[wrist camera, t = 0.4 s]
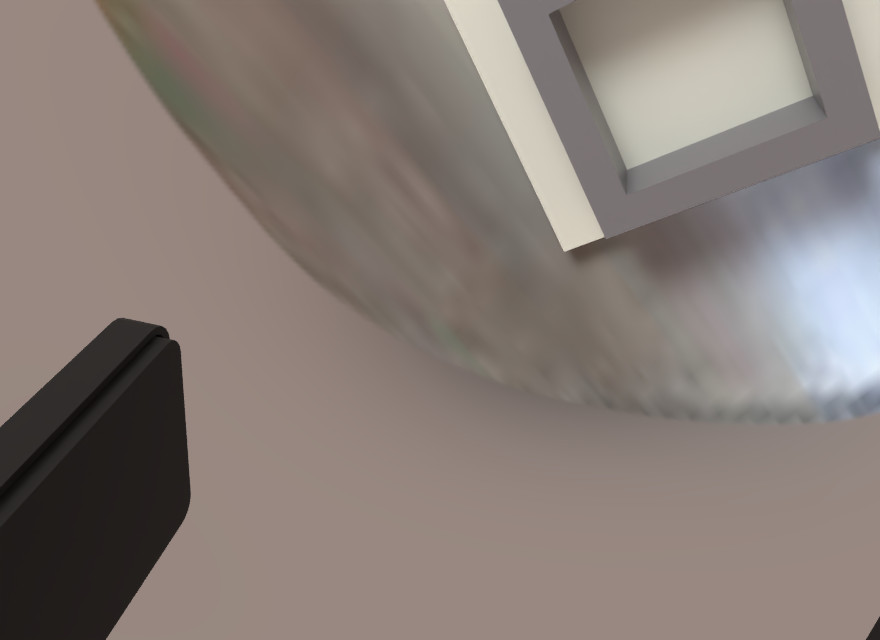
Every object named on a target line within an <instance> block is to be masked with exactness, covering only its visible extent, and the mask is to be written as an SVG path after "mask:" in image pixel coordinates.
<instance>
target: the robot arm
mask: <svg viewBox="0 0 880 640" xmlns="http://www.w3.org/2000/svg"><path fill="white" fill-rule="evenodd" d="M190 493H191V492H190V477H189V464H188V449H187V435H186V422H185V408H184V393H183V378H182V364H181V351H180V346H179V344H178V343H177V342H176V341H175V340H170V339H169V334H168V332H167V330H166V329H165V328H164V327H162V326H158V325H154V324H149V323H144V322H140V321H135V320H130V319H125V318H118V319H116V320H115V321H113V322H112V323H111V324H110V325H109V326H107V328H105V329H104V330H103V331H102V332H101V333H100V334H99V335H98V336H97V337H96V338H95V339H94V340H93V341H92V342H91V343H89V344H88V345H87V346H86V347H85V348H84V349H83V350H82V351H81V352H80V353H79V354H78V355H77V356H76V357H75V358H73V359H72V361H70V362H69V363H68V364H67V365H66V366H65V367H64V368H63V369H62V370H61V371H60V372H59V373H57V374H56V375H55V376H54V377H53V378H52V379H51V380H50V381H49V382H48V383H47V384H46V385H45V386H44V387H43V388H41V389H40V390H39V391H38V392H37V393H36V394H35V395H34V396H33V397H32V398H31V399H30V400H29V401H28V402H27V403H26V404H24V405H23V406H22V407H21V408H20V409H19V410H18V411H17V412H16V413H15V414H14V415H13V416H12V417H11V418H10V419H9V420H8V421H6V422H5V423H4V424H3V425H2V426H1V427H0V640H106V638H107V637H108V635H109V634H110V632H111V631H112V629H113V628H114V626H115V625H116V623H117V622H118V620H119V618H120V617H121V616H122V614H123V613H124V611H125V609H126V608H127V606H128V605H129V603H130V602H131V600H132V599H133V597H134V596H135V594H136V593H137V591H138V590H139V588H140V587H141V585H142V583H143V582H144V580H145V579H146V577H147V576H148V574H149V573H150V571H151V570H152V568H153V567H154V565H155V563H156V562H157V561H158V559H159V557H160V556H161V555H162V553H163V551H164V550H165V548H166V547H167V545H168V544H169V542H170V541H171V539H172V538H173V536H174V535H175V533H176V532H177V530H178V528H179V527H180V525H181V524H182V522H183V520H184V519H185V516H186V514H187V511H188V508H189V504H190V495H191V494H190ZM866 640H880V617H879V619H878V620H877V622H876V624H875V625H874V627H873V629H872V631H871V632H870V634H869V636H868V637H867V639H866Z"/></svg>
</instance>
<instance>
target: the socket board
mask: <svg viewBox="0 0 880 640" xmlns="http://www.w3.org/2000/svg"><path fill="white" fill-rule="evenodd" d="M444 1H445V3H446V5H447V8H448V10H449V12H450V14H451V16H452V18H453V20H454V22H455V24H456V26H457V28H458V31H459V33H460V35H461V37H462V39H463V41H464V43H465V45H466V47H467V49H468V51H469V54H470V56H471V58H472V60H473V62H474V64H475V66H476V68H477V70H478V72H479V74H480V77H481V79H482V81H483V83H484V85H485V87H486V89H487V91H488V93H489V95H490V97H491V100H492V102H493V104H494V106H495V108H496V110H497V112H498V114H499V116H500V118H501V120H502V123H503V125H504V127H505V129H506V131H507V133H508V135H509V137H510V139H511V141H512V143H513V146H514V148H515V150H516V152H517V154H518V156H519V158H520V160H521V162H522V164H523V166H524V169H525V171H526V173H527V175H528V177H529V179H530V181H531V183H532V185H533V187H534V189H535V192H536V194H537V196H538V198H539V200H540V202H541V204H542V206H543V208H544V210H545V212H546V215H547V217H548V219H549V221H550V223H551V225H552V227H553V229H554V231H555V233H556V235H557V238H558V240H559V242H560V244H561V246H562V248H563V250H564V252H565V251H568V250H571V249H573V248H576V247H579V246H581V245H584V244H587V243H589V242H592V241H595V240H598V239H600V238H603V237H605V239H608V238H611V237H614V236H616V235H619V234H622V233H624V232H627V231H630V230H633V229H635V228H638V227H641V226H643V225H646V224H649V223H652V222H654V221H657V220H660V219H662V218H665V217H668V216H671V215H673V214H676V213H679V212H681V211H684V210H687V209H690V208H692V207H695V206H698V205H700V204H703V203H706V202H708V201H711V200H714V199H717V198H719V197H722V196H725V195H727V194H730V193H733V192H736V191H738V190H741V189H744V188H746V187H749V186H752V185H755V184H757V183H760V182H763V181H765V180H768V179H771V178H774V177H776V176H779V175H782V174H784V173H787V172H790V171H792V170H795V169H798V168H801V167H803V166H806V165H809V164H811V163H814V162H817V161H820V160H822V159H825V158H828V157H830V156H833V155H836V154H839V153H841V152H844V151H847V150H849V149H852V148H855V147H858V146H860V145H863V144H866V143H868V142H871V141H874V140H876V139H879V138H880V0H444Z"/></svg>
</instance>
